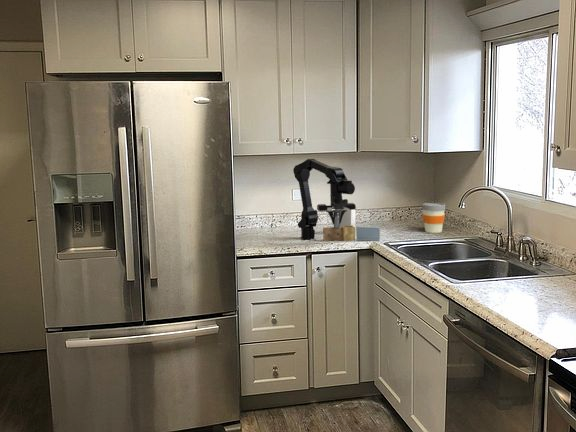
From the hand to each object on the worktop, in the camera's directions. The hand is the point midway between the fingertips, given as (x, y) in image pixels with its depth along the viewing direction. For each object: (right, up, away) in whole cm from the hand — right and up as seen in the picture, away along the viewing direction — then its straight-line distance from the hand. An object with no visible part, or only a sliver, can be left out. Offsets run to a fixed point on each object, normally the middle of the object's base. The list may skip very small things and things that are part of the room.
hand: (336, 223), depth 312 cm
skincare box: (+8, -6, +28) cm, 29 cm away
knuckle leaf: (+2, -9, +11) cm, 14 cm away
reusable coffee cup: (+56, -5, +30) cm, 63 cm away
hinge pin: (0, -3, 0) cm, 3 cm away
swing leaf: (+17, -8, +8) cm, 21 cm away
